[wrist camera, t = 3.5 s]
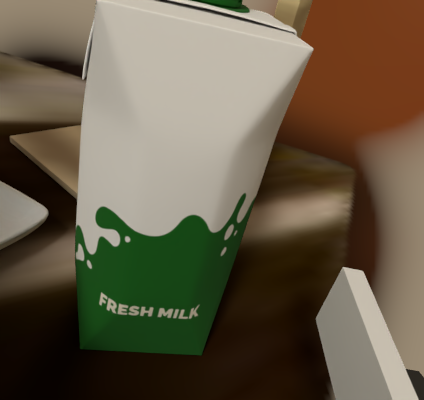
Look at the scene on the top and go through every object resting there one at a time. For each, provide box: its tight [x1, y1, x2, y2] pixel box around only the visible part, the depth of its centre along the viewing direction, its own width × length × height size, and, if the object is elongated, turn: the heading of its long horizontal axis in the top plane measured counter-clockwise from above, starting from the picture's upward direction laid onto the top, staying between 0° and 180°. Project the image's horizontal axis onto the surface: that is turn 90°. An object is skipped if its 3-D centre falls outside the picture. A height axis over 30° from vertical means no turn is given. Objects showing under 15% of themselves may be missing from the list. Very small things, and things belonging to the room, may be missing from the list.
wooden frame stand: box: [10, 0, 312, 199], centre depth 35 cm, size 18×18×26 cm
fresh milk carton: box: [75, 0, 313, 355], centre depth 20 cm, size 9×9×20 cm
